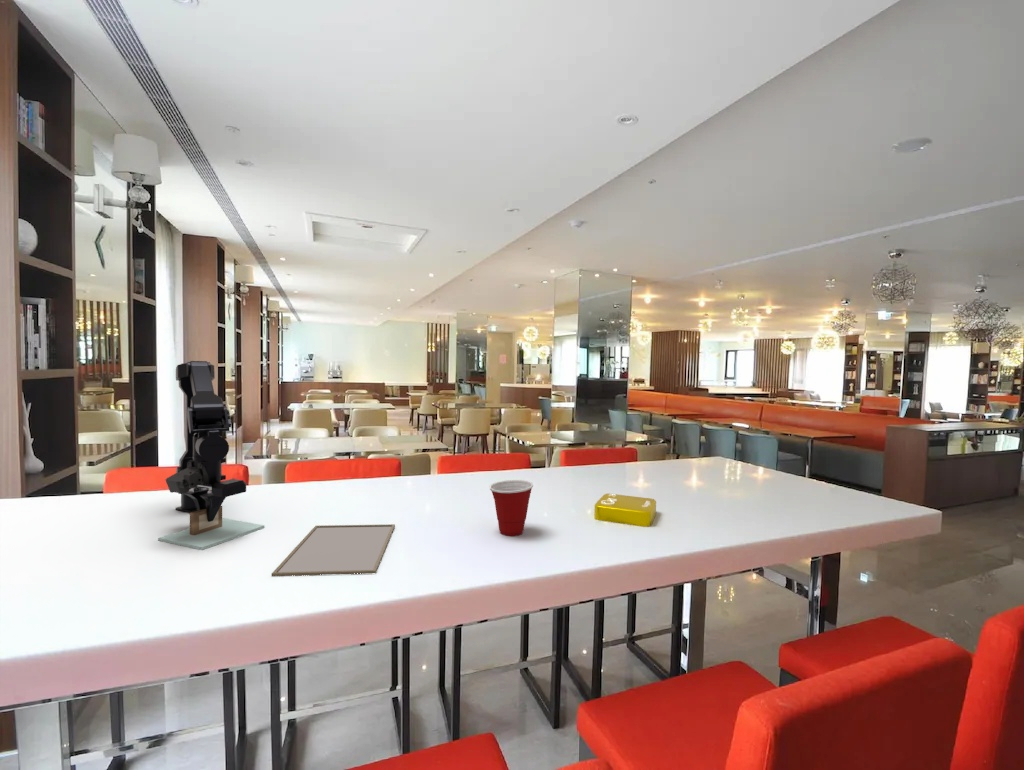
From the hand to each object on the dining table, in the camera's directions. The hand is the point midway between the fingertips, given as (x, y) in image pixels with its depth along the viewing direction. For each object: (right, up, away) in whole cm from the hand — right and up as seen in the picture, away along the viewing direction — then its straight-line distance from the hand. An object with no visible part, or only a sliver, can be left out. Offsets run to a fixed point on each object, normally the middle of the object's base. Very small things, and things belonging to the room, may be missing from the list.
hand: (207, 520), depth 115 cm
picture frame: (+34, -4, -8) cm, 36 cm away
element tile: (+103, -5, +20) cm, 105 cm away
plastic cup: (+71, -4, +5) cm, 72 cm away
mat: (+2, -3, -1) cm, 4 cm away
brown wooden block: (0, -2, 0) cm, 2 cm away
